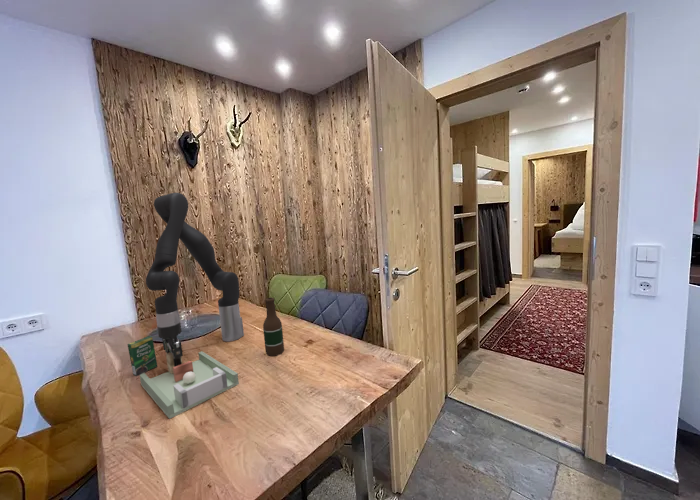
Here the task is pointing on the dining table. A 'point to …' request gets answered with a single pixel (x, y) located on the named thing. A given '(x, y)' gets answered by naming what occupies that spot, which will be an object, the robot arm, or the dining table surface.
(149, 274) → the robot arm
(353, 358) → the dining table surface
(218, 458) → the dining table surface
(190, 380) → the ball
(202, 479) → the dining table surface
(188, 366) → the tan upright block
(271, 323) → the beer bottle
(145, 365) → the coffee box
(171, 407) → the pitch
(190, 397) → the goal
